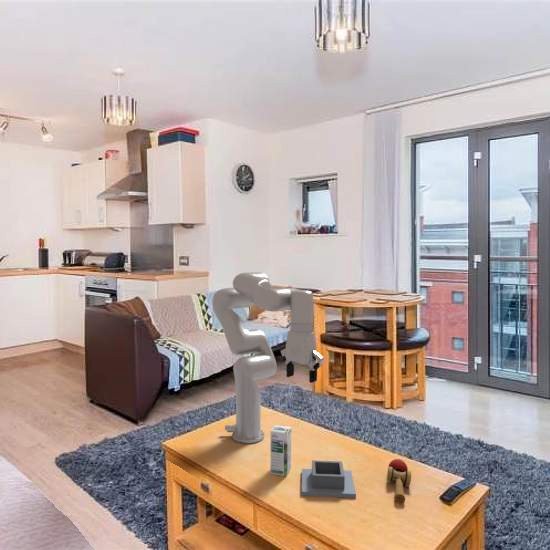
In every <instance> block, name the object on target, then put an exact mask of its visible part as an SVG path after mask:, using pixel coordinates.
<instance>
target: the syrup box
mask: <svg viewBox="0 0 550 550" xmlns="http://www.w3.org/2000/svg"><path fill="white" fill-rule="evenodd" d="M269 439H270V464H269V465H270V468H269V469H270V470H269V473H270V475H275V476H276V475H277V476H282V477H287V476H288V475H289V473H290V471H291V469H292V426H282V425H277V424H276V425H274V426H273V427H272V428H271V430H270V438H269Z"/></svg>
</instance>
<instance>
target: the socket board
mask: <svg viewBox="0 0 550 550" xmlns="http://www.w3.org/2000/svg"><path fill="white" fill-rule="evenodd" d="M355 488H356V487H355V483H354V478H353V474H352V470H349V469H347V470H345V469H344V464H343V461H341V460H340V461H339V460H338V461H337V460H313V459H312V460H311V468H301V496H302V497H326V498H327V497H329V498H330V497H331V498H347V499H348V498H352V499H357V491H356V489H355Z"/></svg>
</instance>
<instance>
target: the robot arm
mask: <svg viewBox="0 0 550 550" xmlns="http://www.w3.org/2000/svg"><path fill="white" fill-rule="evenodd" d="M252 306H256V307H258V308H260V309H262V310H264V311H267V312H272V313H274V312H283V311H289V312H290V313H289V315H290V316H289V318H290V320H289V322H288V323H287V324H288V325H287V326H288V327H289V330H288V332H287V336H286V342H285V348H283V349H280V353H281V356H282V360H283V361H284V365H285V367H286V377H287V378H289V377H293V376H294V375H295V364H301V365H308V367H309V369H310V370H309V377H308V378H309V380H308V381H309V383H315V382H317V381H318V370H319V369H320V367H321V366H322V365H323V362H324V360H325V359H324V357H323V356H322V355H321V354H320V353H319V352H317V341H316V336H315V332H314V293H313V292H312V291H310V290H306V289H299V288H295V287H291V288H290V287H289V288H286V287H285V288H274V289H273V288H272V284H271V282H270V278H269V277H268V276H267V274H266V273H264V272H261V271H257V272H256V271H253V272H241V273H239V274H237V275H236V276H234V278H233V280H232V287H225V288H221V289H218V290H217V291H215V293H213V297H212V308H213V312H214V314H215V316H216V318H217V320H218V321H219V324H220V325H221V327H222V330H223V332H224V336H225V338H226V342H227V344H228V348H229V350H230V351H231V353H232V355H235V356H242V357H240V358H238V359H237V360H236V361H235V362H234V363H233V368H232V370H233V376H234V382H235V424H233V425H232V424H231V425H230V424H225V425H224V431H226V432H227V433H231V438H232V440H233V441H234V442H236V443H240V442H241V444H255V443H258V442H261V441H262V440H263V439H264V438H265V432H264V431H263V430H261V417H262V416H261V415H262V414H261V412H262V411H261V409H262V408H261V397H262V396H261V389H260V387H259V386H258V384H257V381H259V380H262V379H267V378H271V377H273V376H274V375H275V374H276V373H277V368H278V365H277V362H276V361H277V360H276V358H275V354H274V352H273V350H272V347H271V344H270V342H269V339H268V337H267V335H266V334H265V332H263V331H262V329H257V328H256V329H255V328H253V329H247V328H246V326H245V324H244V321H243V319H242V318H241V316H240V315H239V314H237V313H236V312H235V311H234V310H233V309H241V308H250V307H252ZM244 355H245V356H244ZM294 363H295V364H294Z"/></svg>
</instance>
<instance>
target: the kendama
mask: <svg viewBox="0 0 550 550" xmlns="http://www.w3.org/2000/svg"><path fill="white" fill-rule="evenodd" d="M393 481H395V486H394V487H395V492H394V500H395V502H396V503H398V504H403V503H405V501H406V496H405V491H404V487H406V488H409V487H410V486H411V482H412V471H411V470H408V465H407V464H406V462H405V461H404V460H402V459H399V458H395V459H394V458H393V459H392V460H391V461H390V462H389V463H388V467H387V474H386V482H390V483H391V482H393Z"/></svg>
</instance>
